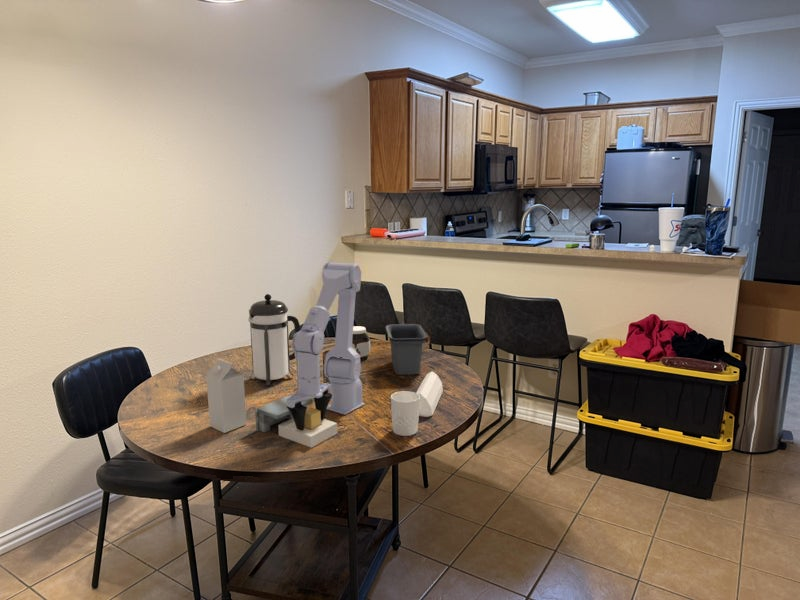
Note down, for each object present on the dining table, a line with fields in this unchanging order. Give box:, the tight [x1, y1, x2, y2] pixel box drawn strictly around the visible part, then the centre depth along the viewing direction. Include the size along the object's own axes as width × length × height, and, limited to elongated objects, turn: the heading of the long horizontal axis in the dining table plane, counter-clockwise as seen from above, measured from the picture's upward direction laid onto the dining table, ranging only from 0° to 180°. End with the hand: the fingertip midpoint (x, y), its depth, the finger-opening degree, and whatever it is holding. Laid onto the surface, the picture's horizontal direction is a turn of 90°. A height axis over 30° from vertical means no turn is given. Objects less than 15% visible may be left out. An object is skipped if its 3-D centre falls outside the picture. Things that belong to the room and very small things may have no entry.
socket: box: [278, 418, 338, 448], centre depth 145 cm, size 10×12×3 cm
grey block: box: [254, 393, 313, 433], centre depth 150 cm, size 13×9×7 cm
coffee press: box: [248, 293, 301, 387], centre depth 185 cm, size 17×16×30 cm
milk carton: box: [205, 357, 247, 434], centre depth 148 cm, size 7×7×19 cm
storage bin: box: [385, 323, 431, 376], centre depth 198 cm, size 21×16×14 cm
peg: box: [304, 407, 321, 430], centre depth 144 cm, size 4×4×7 cm
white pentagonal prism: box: [415, 371, 444, 418], centre depth 166 cm, size 7×7×24 cm
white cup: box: [390, 390, 420, 437], centre depth 147 cm, size 8×8×10 cm
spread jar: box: [345, 325, 371, 361], centre depth 209 cm, size 12×11×12 cm
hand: (310, 423), depth 144 cm, fingers open, 7 cm apart
